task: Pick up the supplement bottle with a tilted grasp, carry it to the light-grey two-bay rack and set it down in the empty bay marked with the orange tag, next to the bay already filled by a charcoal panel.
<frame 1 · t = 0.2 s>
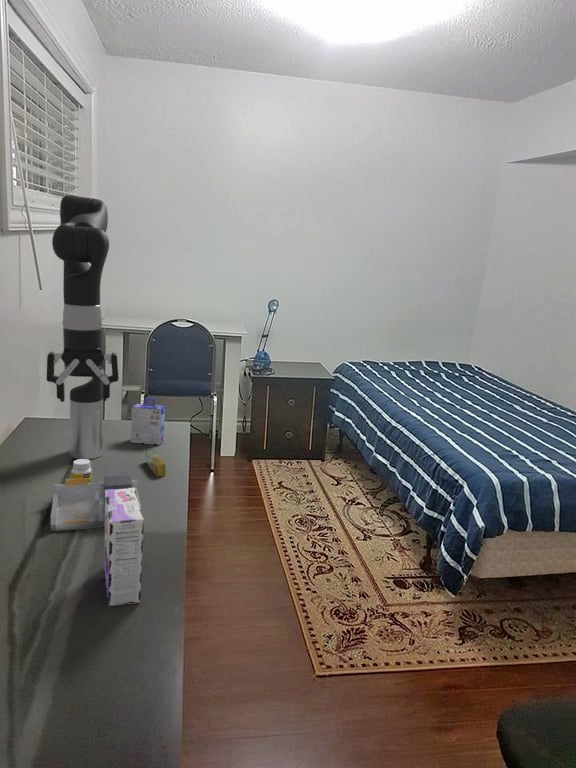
hand: (83, 400, 117), 29 cm above the table, tool pointing down, fingers open, 8 cm apart
rack: (96, 513, 128), on the table
medication box: (155, 470, 158), on the table
candy box: (121, 585, 102), on the table
ink cartridge box: (147, 442, 180), on the table
supplement bottle: (81, 493, 138), on the table
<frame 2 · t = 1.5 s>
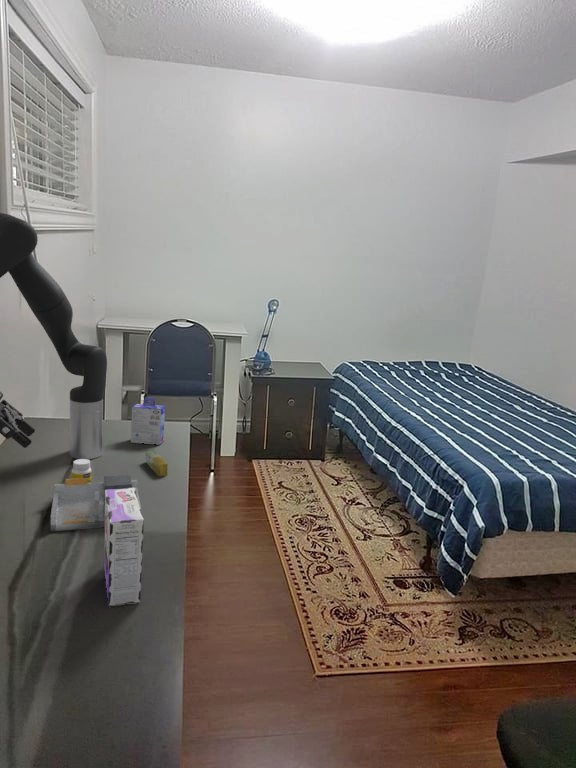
hand: (30, 439, 131), 15 cm above the table, tool tilted 45°, fingers open, 8 cm apart
nothing on the table moved.
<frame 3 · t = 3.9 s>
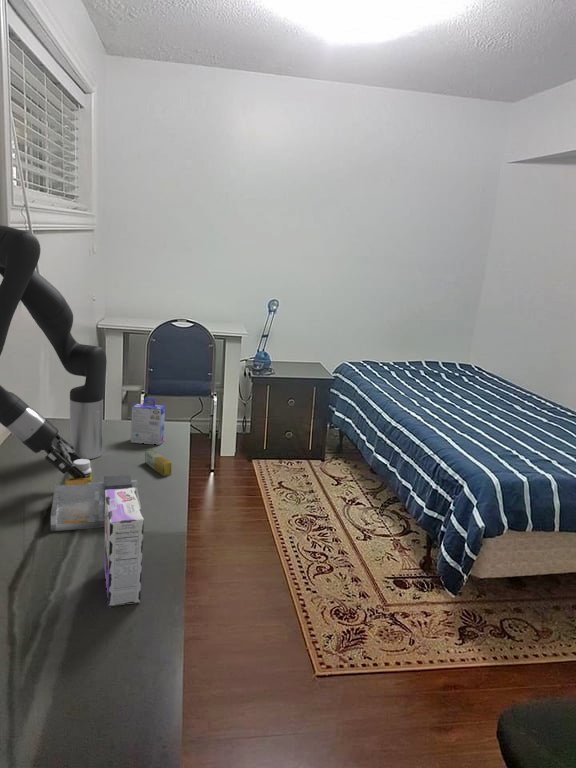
hand: (83, 472, 137), 6 cm above the table, tool tilted 45°, fingers open, 8 cm apart
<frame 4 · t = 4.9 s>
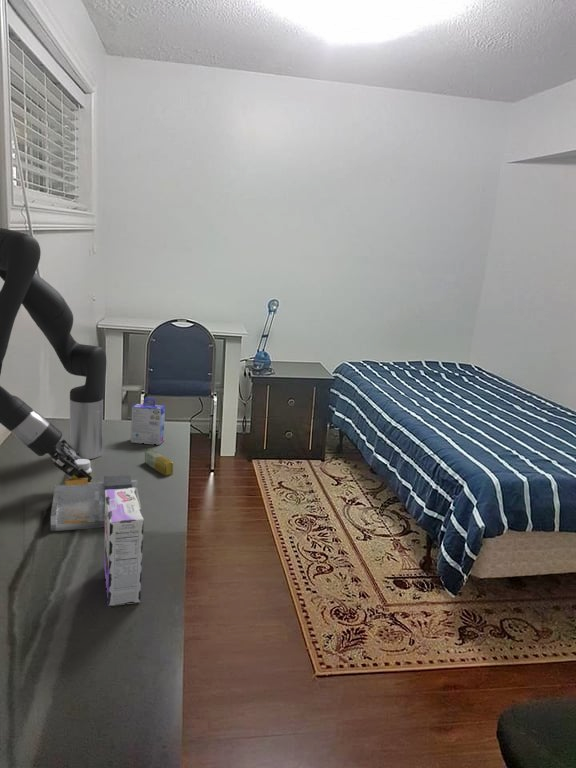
hand: (89, 476, 138), 4 cm above the table, tool tilted 45°, fingers closed on supplement bottle, 4 cm apart
supplement bottle: (81, 493, 138), on the table, touching gripper
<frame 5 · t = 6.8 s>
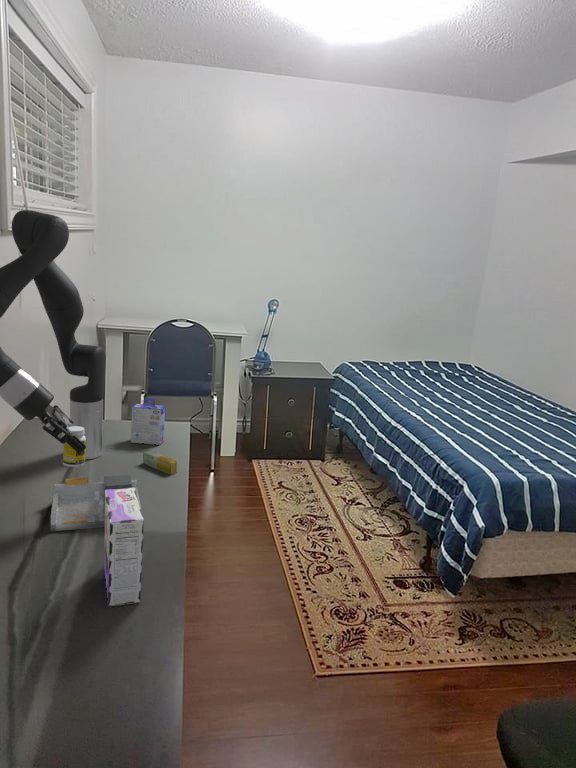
hand: (83, 445, 124), 16 cm above the table, tool tilted 45°, fingers closed on supplement bottle, 4 cm apart
supplement bottle: (74, 464, 124), point 12 cm above the table, touching gripper
when the fingers open (7 cm above the table, at t = 9.1 s): supplement bottle drops 1 cm, resting on rack.
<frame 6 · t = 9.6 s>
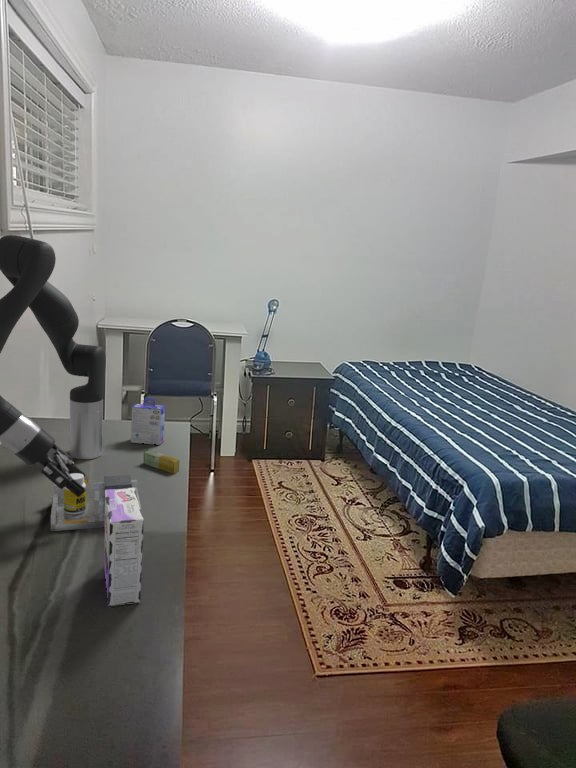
hand: (82, 485, 124), 8 cm above the table, tool tilted 45°, fingers open, 8 cm apart
supplement bottle: (75, 511, 125), point 1 cm above the table, touching rack
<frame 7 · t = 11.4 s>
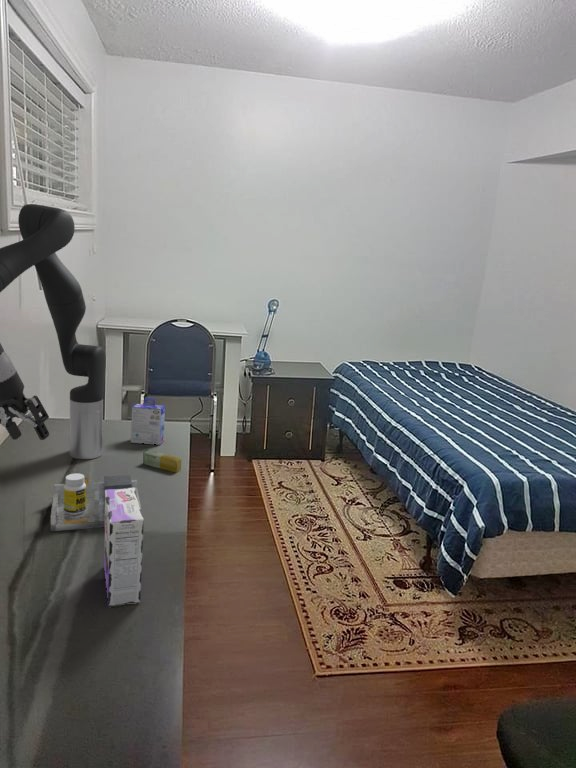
hand: (31, 437, 123), 18 cm above the table, tool tilted 25°, fingers open, 8 cm apart
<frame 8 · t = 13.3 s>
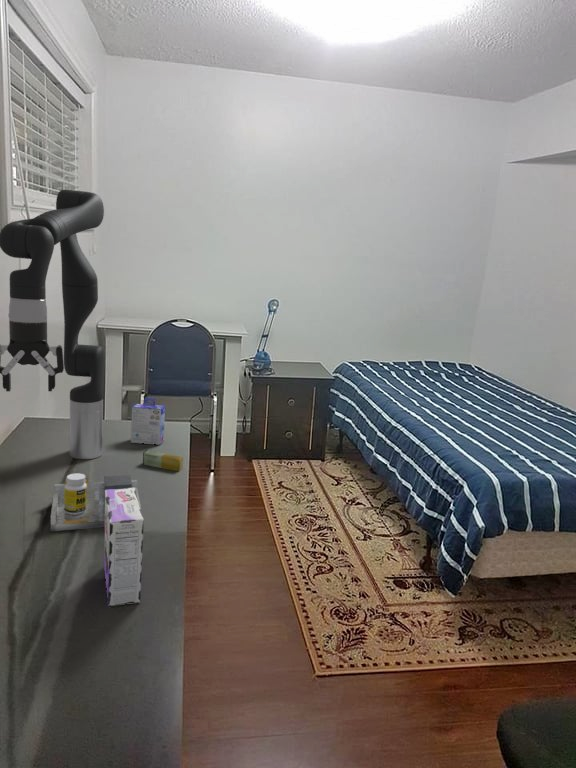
hand: (29, 390, 123), 28 cm above the table, tool pointing down, fingers open, 8 cm apart
at the end: supplement bottle inside the target area on the rack (0.2 cm from its centre), point 1.3 cm above the rack's base; supplement bottle tilted 1°; the gripper is holding nothing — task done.
